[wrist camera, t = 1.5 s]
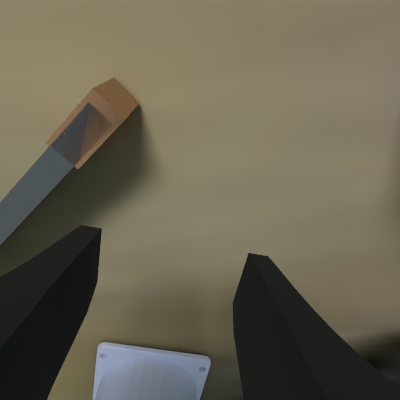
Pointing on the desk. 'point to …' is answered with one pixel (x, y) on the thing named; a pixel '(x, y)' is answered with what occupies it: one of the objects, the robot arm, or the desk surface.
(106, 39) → the desk surface
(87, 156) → the arm
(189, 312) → the desk surface
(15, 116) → the desk surface
